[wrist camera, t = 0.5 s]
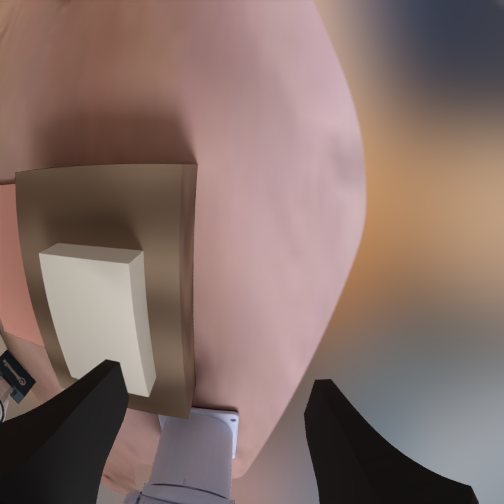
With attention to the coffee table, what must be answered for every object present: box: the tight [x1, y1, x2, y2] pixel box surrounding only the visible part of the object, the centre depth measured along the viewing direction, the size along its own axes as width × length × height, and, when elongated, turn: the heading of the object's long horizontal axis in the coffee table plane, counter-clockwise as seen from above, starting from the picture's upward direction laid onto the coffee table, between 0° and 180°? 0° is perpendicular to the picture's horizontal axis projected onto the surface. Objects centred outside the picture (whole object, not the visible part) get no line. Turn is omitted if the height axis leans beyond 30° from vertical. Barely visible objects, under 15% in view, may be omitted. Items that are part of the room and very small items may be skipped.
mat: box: [0, 184, 45, 347], centre depth 18 cm, size 16×11×1 cm
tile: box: [39, 243, 156, 397], centre depth 14 cm, size 9×6×2 cm, turn 175°
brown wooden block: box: [15, 163, 198, 419], centre depth 17 cm, size 18×12×4 cm, turn 175°
